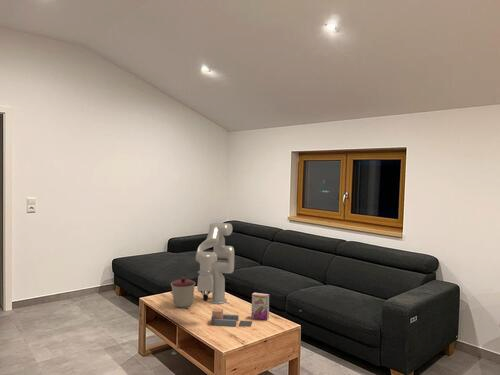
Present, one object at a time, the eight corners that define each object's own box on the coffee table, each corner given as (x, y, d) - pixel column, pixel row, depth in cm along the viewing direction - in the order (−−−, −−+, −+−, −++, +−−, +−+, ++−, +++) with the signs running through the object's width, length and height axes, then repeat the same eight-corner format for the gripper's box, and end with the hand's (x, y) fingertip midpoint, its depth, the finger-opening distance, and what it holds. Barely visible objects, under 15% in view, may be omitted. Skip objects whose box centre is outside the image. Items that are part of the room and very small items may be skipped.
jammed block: (214, 319, 259) (214, 308, 259) (223, 320, 259) (223, 308, 258) (212, 323, 253) (212, 311, 253) (221, 323, 253) (221, 311, 252)
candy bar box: (251, 318, 263) (251, 294, 262) (253, 315, 268) (253, 292, 267) (267, 320, 259) (267, 296, 259) (269, 317, 264) (269, 293, 263)
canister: (199, 306, 286) (199, 278, 285) (177, 311, 275) (177, 282, 274) (188, 299, 300) (188, 272, 300) (166, 304, 290) (166, 276, 289)
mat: (240, 320, 259) (240, 320, 259) (252, 321, 258) (252, 321, 258) (238, 326, 250) (238, 325, 250) (250, 326, 249) (250, 326, 249)
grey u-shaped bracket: (215, 318, 262) (215, 310, 262) (238, 320, 260) (238, 312, 259) (211, 325, 251) (211, 316, 251) (235, 326, 249) (235, 318, 249)
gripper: (193, 274, 253) (192, 302, 253) (215, 274, 251) (215, 303, 251) (196, 271, 260) (196, 298, 261) (218, 272, 258) (217, 299, 259)
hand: (205, 300), depth 256 cm, fingers closed
